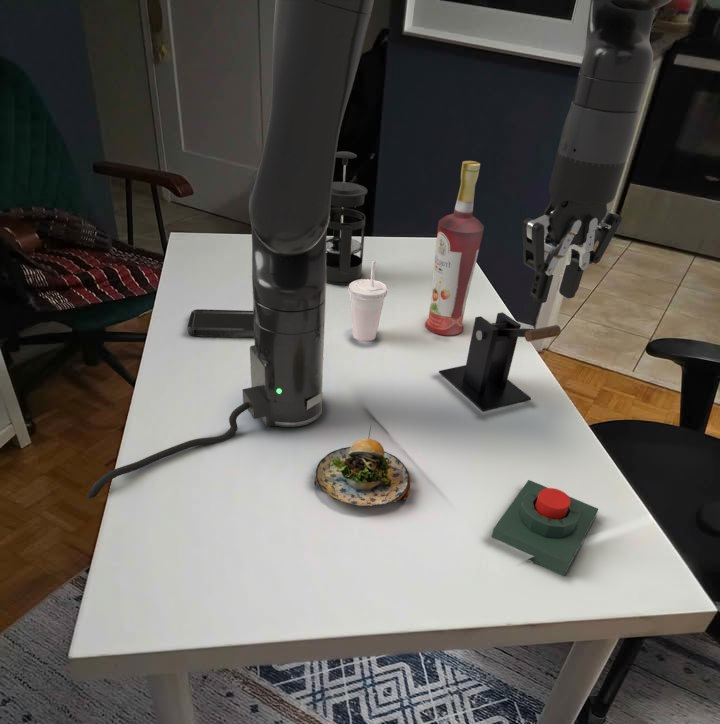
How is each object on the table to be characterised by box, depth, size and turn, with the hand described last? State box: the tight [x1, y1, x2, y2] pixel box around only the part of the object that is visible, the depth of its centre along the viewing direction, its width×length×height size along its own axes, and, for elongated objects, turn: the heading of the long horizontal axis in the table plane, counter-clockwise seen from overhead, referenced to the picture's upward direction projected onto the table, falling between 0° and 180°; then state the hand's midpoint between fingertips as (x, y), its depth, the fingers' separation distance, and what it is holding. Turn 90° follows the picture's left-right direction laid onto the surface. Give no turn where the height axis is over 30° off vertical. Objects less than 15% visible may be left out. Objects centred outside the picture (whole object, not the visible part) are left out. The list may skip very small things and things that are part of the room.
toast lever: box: [491, 322, 562, 343], centre depth 90 cm, size 12×5×2 cm, turn 27°
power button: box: [535, 487, 570, 520], centre depth 74 cm, size 4×4×2 cm
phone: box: [187, 308, 254, 338], centre depth 111 cm, size 8×1×15 cm
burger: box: [313, 424, 412, 507], centre depth 79 cm, size 12×12×8 cm
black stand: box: [438, 312, 532, 413], centre depth 97 cm, size 12×9×12 cm
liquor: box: [424, 160, 485, 337], centre depth 107 cm, size 7×7×28 cm
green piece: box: [491, 479, 599, 577], centre depth 76 cm, size 11×9×4 cm
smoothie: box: [347, 259, 389, 342], centre depth 106 cm, size 6×6×14 cm
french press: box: [326, 151, 368, 286], centre depth 124 cm, size 12×9×23 cm
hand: (552, 297), depth 83 cm, fingers open, 4 cm apart
